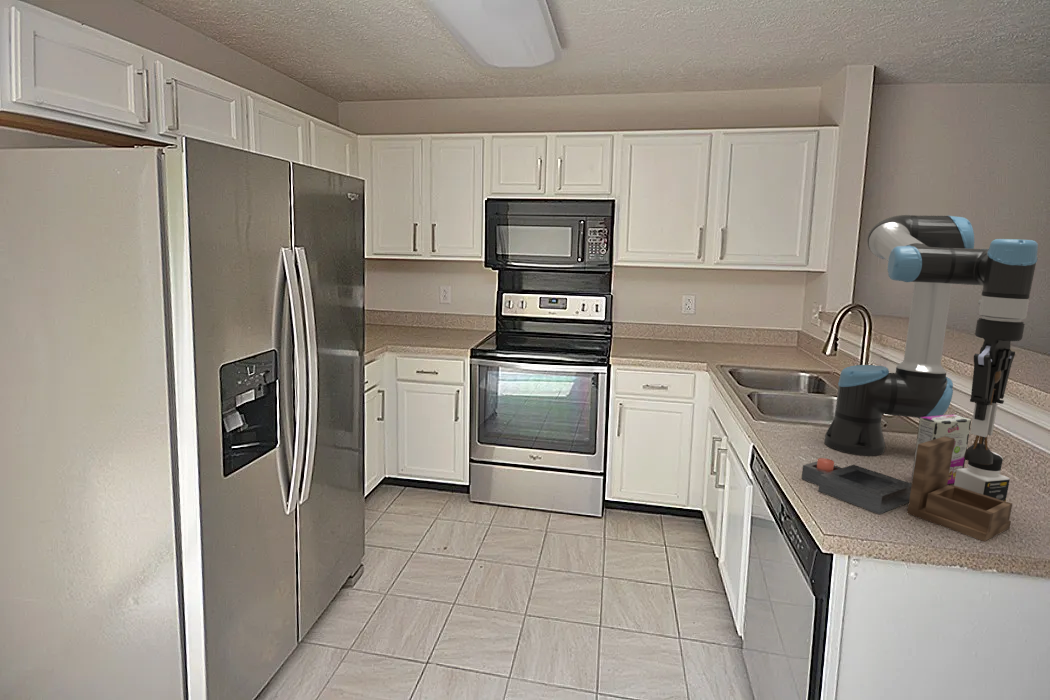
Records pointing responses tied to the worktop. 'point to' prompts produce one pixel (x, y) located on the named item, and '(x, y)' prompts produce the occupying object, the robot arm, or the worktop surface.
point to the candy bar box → (950, 428)
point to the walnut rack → (952, 496)
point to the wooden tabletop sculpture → (981, 443)
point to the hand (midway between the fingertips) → (981, 434)
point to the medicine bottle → (984, 478)
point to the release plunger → (825, 464)
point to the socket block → (860, 486)
